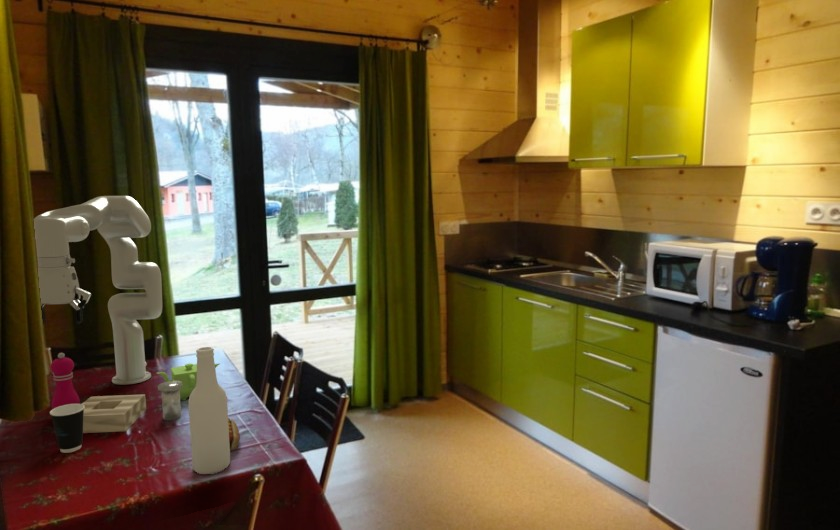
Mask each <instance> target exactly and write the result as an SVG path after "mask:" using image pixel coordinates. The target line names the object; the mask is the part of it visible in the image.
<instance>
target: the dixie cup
mask: <svg viewBox="0 0 840 530" xmlns="http://www.w3.org/2000/svg"><path fill="white" fill-rule="evenodd" d="M84 408H85V406H84V405H83V404H82V403H79V404H67V405H62V406H59V407H56V408H54V409H53V408H52V409H51V410H50V411H49V415H50V416H51V420H52V421H51V422H52V425H53V429H54V433H55V437H56V438H55V439H56V442H57V446H58V449H59V450H60V452H61V453H63V454H64V453H65V454H66V453H73V452H76V451H78V450H80V449H81V448H82V445H83V439H84V433H83V415H84Z"/></svg>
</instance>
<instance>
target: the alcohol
mask: <svg viewBox="0 0 840 530" xmlns="http://www.w3.org/2000/svg"><path fill="white" fill-rule="evenodd" d="M214 350H215V349H214V348H213V347H211V346H205V347H199V348H196V350H195V352H196V364H197V383H196V387H195V389H194V390H193V391H192V393H191V394H190V396H189V398H188V414H189V416H188V417H189V434H190V447H191V448H190V449H191V450H190V451H191V461H192V463H191V464H192V469H193V471H194V472H195V473H196V472H197V473H196V474H198V473H199V475H201V474H211V475H213V474H212V473H216V472H219V471H221V470H223V471H225V470H226V469H228V467H229V466H230V464H231V450H230V444H229V426H228V418H229V413H228V412H229V411H228V410H229V409H228V396H227V394H226V390H225V389H224V388H223V387H222V386H221V385H220V384H219V383H218V382H219V381H218V378H217V371H216V368H215V364H216V362H215V357H214V356H215V353H214V352H215V351H214ZM225 468H226V469H225ZM224 469H225V470H224ZM221 472H222V471H221ZM219 473H220V472H219ZM216 474H217V473H216Z"/></svg>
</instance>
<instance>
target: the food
mask: <svg viewBox="0 0 840 530" xmlns="http://www.w3.org/2000/svg"><path fill="white" fill-rule="evenodd" d="M228 426H229V444H230V451H235V450H236V448H237V447H238V446H239V443H240V440H241V435H240V432H239V428H238V425H237V423H236V421H235V420H234V419H231V418H229V417H228Z"/></svg>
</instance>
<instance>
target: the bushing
mask: <svg viewBox="0 0 840 530" xmlns="http://www.w3.org/2000/svg"><path fill="white" fill-rule="evenodd" d="M182 387H183V384H182V382H181V381H168V382H165V381H164V382H161V383H159V384H158V385H157V391H158V392H159V393H161V401H162V402H161V403H162V417H163V420H165V421H174V420H179V419H181V417H182V406H181V400H180V399H181V398H180V389H182Z"/></svg>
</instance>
